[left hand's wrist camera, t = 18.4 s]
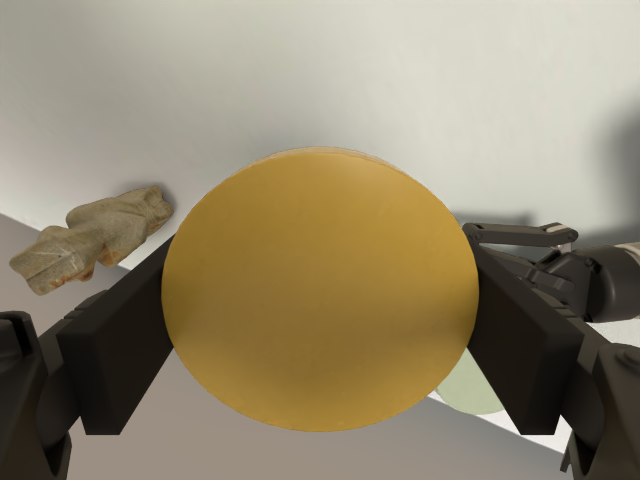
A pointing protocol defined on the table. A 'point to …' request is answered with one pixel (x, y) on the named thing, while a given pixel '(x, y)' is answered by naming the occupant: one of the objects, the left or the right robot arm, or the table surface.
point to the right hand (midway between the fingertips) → (396, 308)
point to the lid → (320, 290)
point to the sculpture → (91, 239)
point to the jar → (468, 388)
